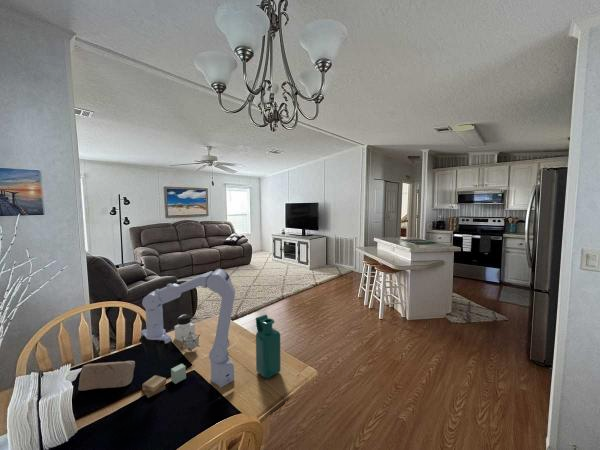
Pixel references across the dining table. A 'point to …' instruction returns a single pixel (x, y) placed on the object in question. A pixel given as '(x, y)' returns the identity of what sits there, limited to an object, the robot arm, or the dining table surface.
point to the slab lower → (154, 392)
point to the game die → (190, 341)
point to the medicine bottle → (184, 327)
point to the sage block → (178, 373)
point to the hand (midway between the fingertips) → (156, 356)
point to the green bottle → (267, 347)
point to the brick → (106, 375)
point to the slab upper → (154, 383)
